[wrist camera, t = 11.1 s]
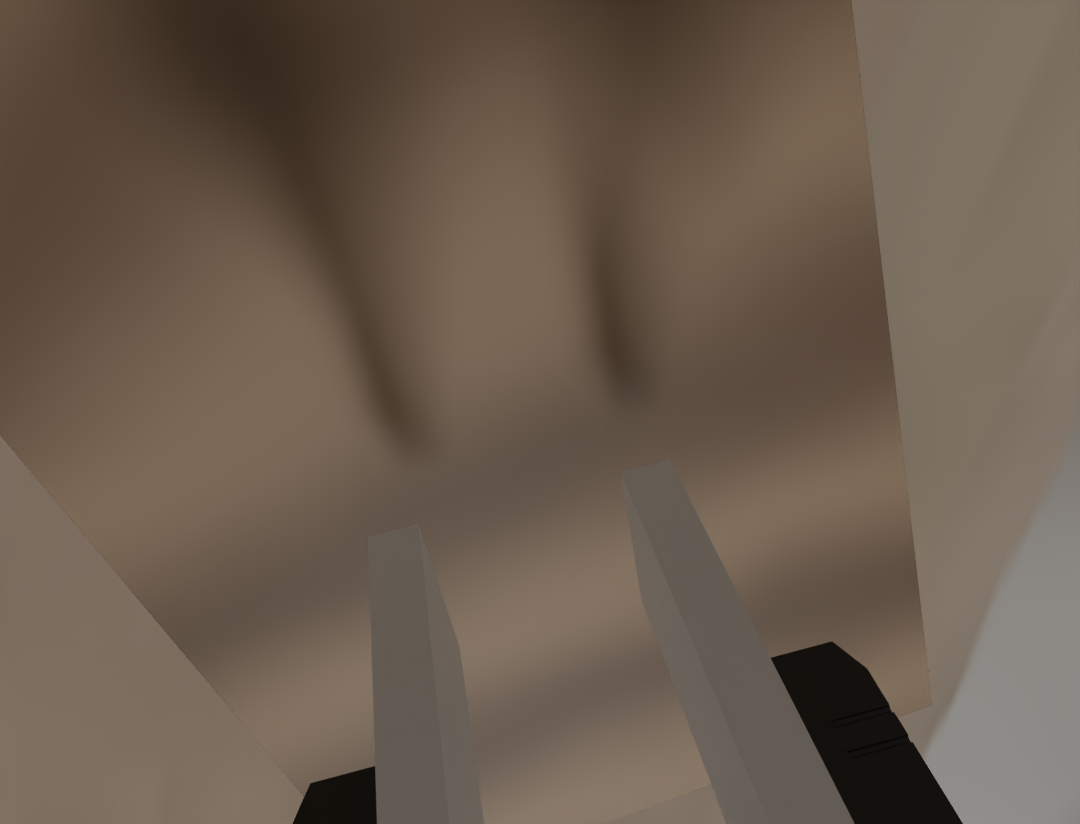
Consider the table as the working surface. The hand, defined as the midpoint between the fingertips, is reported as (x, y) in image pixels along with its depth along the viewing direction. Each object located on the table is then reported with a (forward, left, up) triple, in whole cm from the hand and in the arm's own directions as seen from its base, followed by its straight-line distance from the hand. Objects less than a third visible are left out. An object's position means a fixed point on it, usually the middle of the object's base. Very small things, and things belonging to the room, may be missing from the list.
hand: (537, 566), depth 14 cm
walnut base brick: (0, 0, -8) cm, 8 cm away
